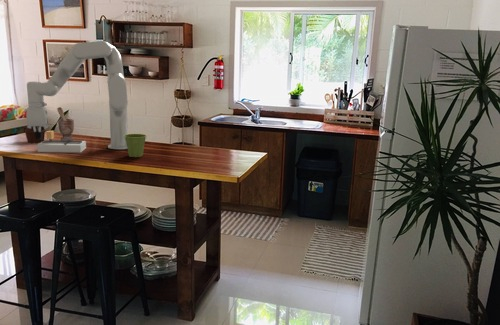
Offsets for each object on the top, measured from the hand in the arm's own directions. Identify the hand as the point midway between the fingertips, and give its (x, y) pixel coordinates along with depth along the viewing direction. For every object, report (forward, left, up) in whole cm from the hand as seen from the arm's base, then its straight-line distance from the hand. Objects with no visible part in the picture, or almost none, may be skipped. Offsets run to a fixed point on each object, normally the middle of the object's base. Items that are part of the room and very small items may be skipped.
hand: (38, 138), depth 230 cm
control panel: (-12, 0, -6) cm, 14 cm away
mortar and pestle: (-6, -25, -6) cm, 27 cm away
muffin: (+9, -20, -6) cm, 23 cm away
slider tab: (-6, 0, -2) cm, 6 cm away
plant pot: (-53, +13, -6) cm, 55 cm away
